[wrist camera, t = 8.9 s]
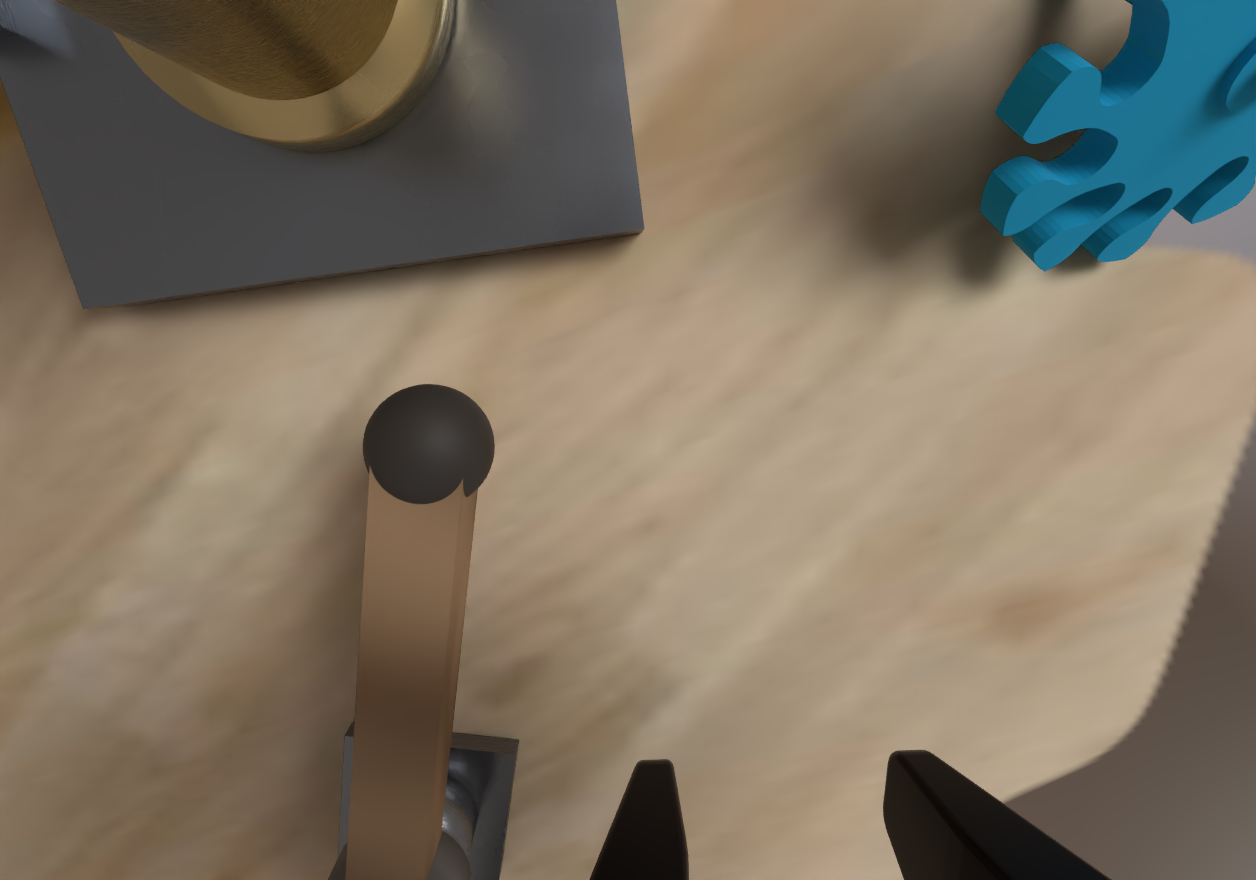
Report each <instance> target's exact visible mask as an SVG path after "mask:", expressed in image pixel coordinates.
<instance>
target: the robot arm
mask: <svg viewBox="0 0 1256 880" xmlns="http://www.w3.org/2000/svg"><path fill="white" fill-rule="evenodd" d="M883 815H884V822H885V826H886V830H887V833H888V836H889V838H890V841H891V844H892V847H893V850H894V853H895V855H896V858H897V861H898V864H899V867H900V870H901V872H902V875H903V878H904V880H1112V879H1110V878H1109V877H1107V876H1106V875H1104V874H1103V873H1102V872H1100V871H1099V870H1097V869H1096V868H1094V867H1093V866H1092V865H1090V864H1089V863H1087V862H1086V861H1084V860H1083V859H1082V858H1080V857H1079V856H1077V855H1076V854H1075V853H1073V852H1072V851H1070V850H1069V849H1067V848H1066V847H1064V846H1063V845H1062V844H1060V843H1059V842H1057V841H1056V840H1055V839H1053V838H1052V837H1050V836H1049V835H1047V834H1046V833H1045V832H1043V831H1042V830H1040V829H1039V828H1038V827H1036V826H1035V825H1033V824H1032V823H1030V822H1029V821H1027V820H1026V819H1025V818H1023V817H1022V816H1020V815H1019V814H1018V813H1016V812H1015V811H1013V810H1012V809H1011V808H1009V807H1007V806H1006V805H1005V804H1003V803H1002V802H1001V801H999V800H998V799H996V798H995V797H994V796H992V795H991V794H989V793H988V792H986V791H985V790H984V789H982V788H981V787H979V786H978V785H976V784H975V783H974V782H972V781H971V780H969V779H968V778H966V777H965V776H964V775H962V774H961V773H959V772H958V771H957V770H955V769H954V768H952V767H951V766H949V765H948V764H947V763H945V762H944V761H942V760H941V759H939V758H938V757H937V756H935V755H934V754H932V753H930V752H928V751H926V750H902V751H895V752H893V753H892V754H891V755H890V757H889V761H888V767H887V776H886V785H885V794H884V803H883ZM590 880H689V862H688V850H687V842H686V835H685V829H684V824H683V818H682V812H681V806H680V801H679V795H678V789H677V783H676V777H675V772H674V766H673V764H672V762H671V761H670V760H668V759H660V760H641V761H639V762H638V763H637V764H636V766H635V768H634V771H633V773H632V775H631V778H630V780H629V783H628V785H627V788H626V790H625V793H624V795H623V798H622V800H621V803H620V805H619V808H618V810H617V813H616V815H615V818H614V820H613V823H612V825H611V828H610V830H609V832H608V835H607V837H606V840H605V842H604V845H603V847H602V850H601V852H600V855H599V857H598V860H597V862H596V865H595V867H594V870H593V872H592V875H591V877H590Z"/></svg>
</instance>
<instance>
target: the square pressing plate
mask: <svg viewBox="0 0 1256 880" xmlns="http://www.w3.org/2000/svg"><path fill="white" fill-rule="evenodd" d="M354 724H355V722H352V724H351V726H350V728H349V729H348V731H347V733H346V734H345V738H344V756H343V775H342V793H341V811H340V829H339V848H338V857H339V855H340V853H341V851H342V849H343V847H344V846H345V844H346V843H347V842H348V825H349V808H350V791H351V774H352V757H353V740H354ZM518 744H519V740H514V739H505V738H496V737H487V736H478V735H469V734H460V733H452V738H451V747H450V757H449V766H448V776H447V785H446V795H445V804H444V814H443V823H442V830H443V831H444V832H446V833H447V834H448V835H450V836H451V837H452V838H453V839H454V840H456V842H457V843H458V844H459V845H460V846H461V847H462V849H463V850H464V852H465V854H466V856H467V858H468V861H469V864H470V871H471V878H470V880H499V878H500V873H501V867H502V860H503V853H504V845H505V838H506V831H507V824H508V816H509V809H510V802H511V794H512V787H513V780H514V773H515V765H516V758H517V751H518Z"/></svg>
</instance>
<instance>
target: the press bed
mask: <svg viewBox="0 0 1256 880" xmlns="http://www.w3.org/2000/svg"><path fill="white" fill-rule="evenodd" d="M0 78H1V81H2V83H3V86H4V89H5V92H6V95H7V97H8V100H9V103H10V106H11V109H12V111H13V114H14V117H15V120H16V123H17V125H18V128H19V131H20V134H21V137H22V139H23V142H24V145H25V148H26V150H27V153H28V156H29V159H30V162H31V164H32V167H33V170H34V173H35V176H36V178H37V181H38V184H39V187H40V190H41V192H42V195H43V198H44V201H45V204H46V206H47V209H48V212H49V215H50V218H51V220H52V223H53V226H54V229H55V231H56V234H57V237H58V240H59V243H60V245H61V248H62V251H63V254H64V257H65V259H66V262H67V265H68V268H69V271H70V273H71V276H72V279H73V282H74V285H75V287H76V290H77V293H78V296H79V298H80V301H81V304H82V307H83V309H91V308H112V307H126V306H133V305H140V304H147V303H154V302H161V301H168V300H175V299H182V298H189V297H196V296H203V295H210V294H217V293H224V292H231V291H238V290H245V289H252V288H259V287H266V286H273V285H280V284H287V283H294V282H301V281H308V280H315V279H322V278H329V277H336V276H343V275H350V274H357V273H364V272H371V271H378V270H385V269H392V268H399V267H406V266H413V265H420V264H427V263H434V262H441V261H448V260H455V259H462V258H469V257H476V256H483V255H490V254H497V253H504V252H511V251H518V250H525V249H532V248H539V247H546V246H553V245H560V244H567V243H574V242H581V241H588V240H595V239H602V238H609V237H616V236H623V235H630V234H637V233H642V231H643V230H644V223H643V214H642V206H641V198H640V190H639V182H638V174H637V166H636V158H635V150H634V142H633V134H632V126H631V118H630V110H629V102H628V94H627V86H626V78H625V70H624V62H623V54H622V46H621V37H620V29H619V21H618V13H617V5H616V0H455V2H454V17H453V23H452V28H451V33H450V39H449V42H448V45H447V49H446V52H445V55H444V58H443V61H442V63H441V65H440V67H439V70H438V72H437V74H436V76H435V78H434V80H433V82H432V83H431V85H430V86H429V88H428V89H427V91H426V93H425V94H424V96H423V97H422V98H421V100H420V101H419V102H418V103H417V104H416V105H415V107H414V108H413V109H412V110H411V111H410V112H409V113H408V114H407V115H406V116H405V117H404V118H402V119H401V120H400V121H399V122H398V123H397V124H396V125H394V126H393V127H391V128H390V129H388V130H387V131H385V132H383V133H382V134H380V135H379V136H377V137H375V138H373V139H370V140H368V141H366V142H363V143H361V144H359V145H355V146H351V147H347V148H344V149H340V150H331V151H323V152H311V151H296V150H290V149H283V148H279V147H275V146H272V145H269V144H265V143H262V142H259V141H257V140H254V139H252V138H249V137H247V136H244V135H242V134H239V133H237V132H234V131H232V130H230V129H227V128H225V127H223V126H220V125H218V124H216V123H213V122H211V121H209V120H207V119H205V118H203V117H201V116H199V115H198V114H196V113H194V112H193V111H191V110H189V109H188V108H186V107H184V106H183V105H181V104H180V103H179V102H177V101H176V100H175V99H174V98H172V97H171V96H170V95H168V94H167V93H166V92H164V91H163V90H162V89H161V88H160V87H159V86H158V85H157V84H156V83H155V82H154V81H152V80H151V79H150V78H149V77H148V76H147V75H146V74H145V73H144V72H143V71H142V69H141V68H140V67H139V66H138V65H137V64H136V62H135V61H134V60H133V59H132V58H131V57H130V55H129V54H128V53H127V52H126V50H125V49H124V47H123V46H122V44H121V43H120V42H119V40H118V39H117V37H116V36H115V34H114V33H113V31H112V30H110V29H108V28H106V27H104V26H102V25H100V24H98V23H96V22H94V21H92V20H90V19H88V18H86V17H84V16H82V15H80V14H78V13H77V12H75V11H73V10H71V9H69V8H67V7H65V6H63V5H61V4H59V3H57V2H55V1H53V0H0Z"/></svg>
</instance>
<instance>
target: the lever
mask: <svg viewBox="0 0 1256 880" xmlns="http://www.w3.org/2000/svg"><path fill="white" fill-rule="evenodd" d="M494 447H495V445H494V436H493V431H492V428H491V425H490V423H489V420H488V419H487V417H486V415H485V413H484V412H483V411H482V409H481V408H480V407H479V406H478V405H477V404H476V403H475V402H474V401H473V400H472V399H471V398H470V397H468V396H466V395H465V394H463V393H462V392H460V391H458V390H455V389H453V388H450V387H446V386H442V385H433V384H423V385H416V386H412V387H408V388H405V389H402V390H400V391H398V392H396V393H394V394H393V395H391V396H390V397H388V398H387V399H386V400H385V401H384V402H382V403H381V404H380V405H379V406H378V408H377V409H376V410H375V411H374V413H373V415H372V416H371V418H370V419H369V422H368V424H367V426H366V429H365V433H364V439H363V456H364V461H365V465H366V468H367V470H368V472H369V487H368V504H367V520H366V537H365V554H364V571H363V588H362V605H361V622H360V639H359V656H358V673H357V690H356V707H355V724H354V740H353V757H352V774H351V791H350V808H349V825H348V842H347V843H346V844H345V846H344V847H343V849H342V851H341V853H340V855H339V857H338V859H337V861H336V864H335V866H334V868H333V870H332V872H331V874H330V876H329V879H328V880H470V878H471V871H470V864H469V861H468V858H467V856H466V854H465V852H464V850H463V849H462V847H461V846H460V845H459V844H458V843H457V842H456V840H454V839H453V838H452V837H451V836H450V835H448V834H447V833H446V832H444V831H443V830H442V823H443V814H444V804H445V795H446V785H447V776H448V766H449V757H450V747H451V738H452V728H453V719H454V709H455V700H456V691H457V681H458V672H459V662H460V653H461V643H462V634H463V624H464V615H465V605H466V596H467V586H468V577H469V567H470V558H471V548H472V539H473V529H474V520H475V510H476V501H477V491H478V487H479V486H480V485H481V484H482V483H483V481H484V480H485V478H486V477H487V475H488V473H489V471H490V468H491V465H492V462H493V458H494Z"/></svg>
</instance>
